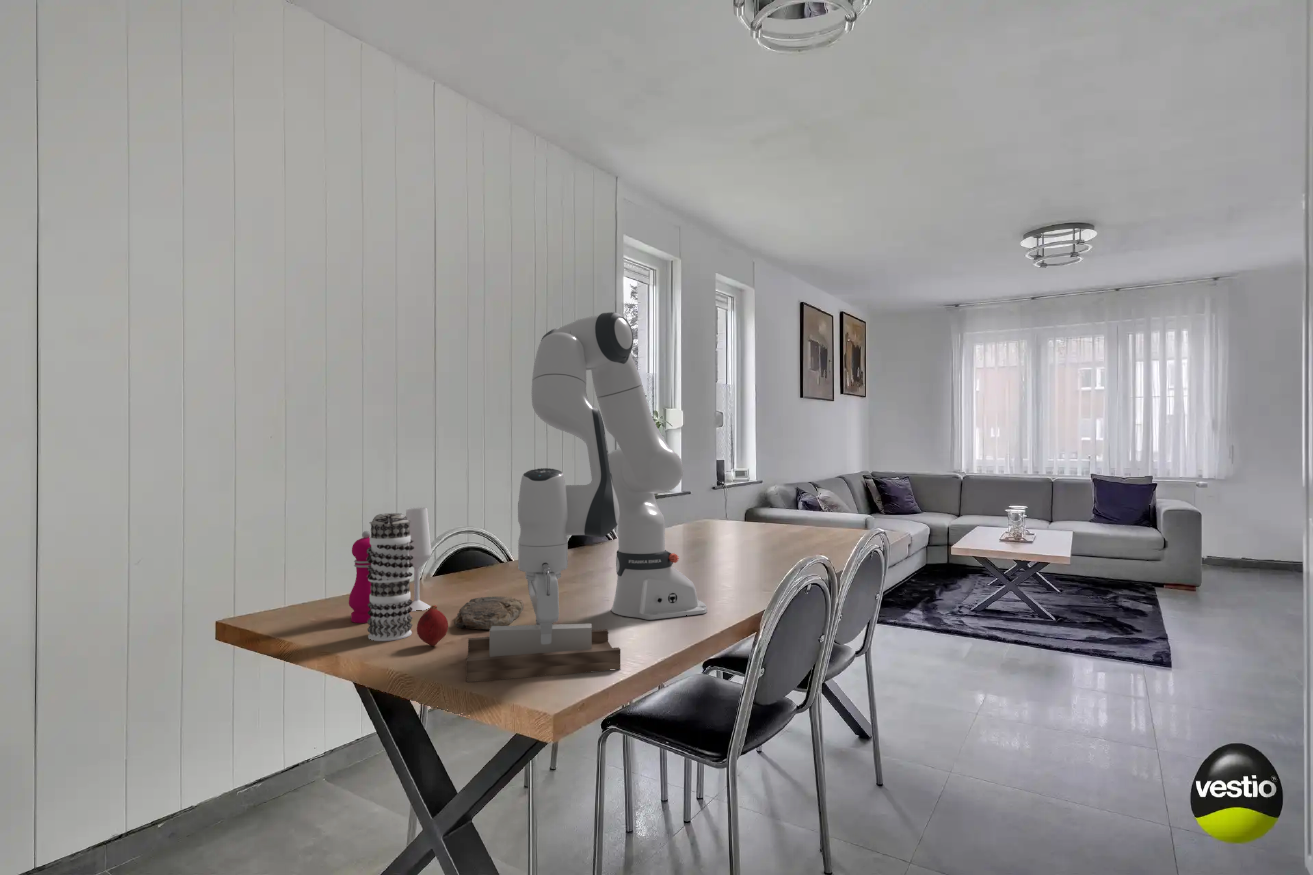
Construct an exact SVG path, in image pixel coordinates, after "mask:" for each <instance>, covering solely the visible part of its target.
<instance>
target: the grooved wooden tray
mask: <svg viewBox="0 0 1313 875" xmlns="http://www.w3.org/2000/svg"><path fill="white" fill-rule="evenodd" d="M467 641H468V642H467V644H468V651H467V652H468V653H467V658H466V683H472V682H473V683H474V682H484V681H495V680H496V681H497V680H511V679H520V678H521V679H522V678H523V679H524V678H534V677H547V676H560V675H573V674H584V673H585V672H586V673H592V672H591V671H598V672H605V671H604V670H610V669H620V670H621V648H620V647H619V646H618V647H612V645H611V644H610V642H609V630H608V628H603V629H602V628H601V629H600V628H599V629H592V649H590V650H576V651H563V652H549V653H535V654H521V655H507V656H494V657H490V636H482V637H469V638H468V640H467ZM586 673H585V674H586Z"/></svg>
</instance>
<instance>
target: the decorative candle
mask: <svg viewBox="0 0 1313 875" xmlns="http://www.w3.org/2000/svg"><path fill="white" fill-rule="evenodd" d="M410 522H411V521H410V520H408V519H407V517H406V514H403V513H399V512H398V513H396V512H395V513H393V512H391V513H379V514H377V515H375V516H374V517H373V519H372V520H371V521H370V522H369V524H370V534H371V536H370V537H369V538H370V544H371V547H370V548H368V549H367V551H366V552H367V553H368V555H369V556H368V557H367V558H366V560H367V561H368V562H369V563H371V565H369V566H368V568H367V570H368V571H369V575H367V578H368V581H370V582H371V594H370V603H369V604H368V607H369V608H371V609H370V610H369V611H368V614H369V615H370V616H371V617H370V619H369V620H368V621H367V623H366V624H368V627H367V631H368V633H369V634H368V636H367V638H368V640H370V639H371V640H370V641H373V640H374V642H392V641H397V640H398V641H399V640H402V639H406V638H408V637H410V636H411V635H412V634H413V632H412V627H413V624H412V623H411V622H412V621H413V616H412V615H411V614H410V613H411V612H413V611H412V608H411V607H410V606H409V605H411V603H412V601H413V599H411V590H410V585H411V584H410V583H411V582H410V580H411V579H412V578H413V573H412V572H410V569H411V568H413V567H412V566H413V564H412V563H411V562H409V561H410V560H411V559H413V556H411V555H409V551H410V550H413V549H414V547H413V546H412V545H409V543H412V542H413V540H411V535H410Z"/></svg>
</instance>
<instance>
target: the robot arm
mask: <svg viewBox="0 0 1313 875" xmlns="http://www.w3.org/2000/svg"><path fill="white" fill-rule="evenodd" d="M633 347H634V333H633V329H632V327H631V324H630V323H629V321H628V320H627V319H626V318H625V317H624V316H623V315H622V314H621V313H620V312H619V313H618V312H614V311H613V312H610V311H609V312H602V313H600V314H597V315H592V316H587V317H582V318H578V319H576V320H575V321H573V322H569V323H567V324H565V325H563V326H560V327H554V328H553V329H551V330H549V331H547V332H546V333H545V334H544V335H543V336H542V338H541V340H540V342H539V345H538V349H537V351H536V355H535V358H534V365H533V372H532V378H531V405H532V409H533V410H534V413H535V414H536V415H537V417H539V418H540V420H542V421H543V422H544V423H545V424H547V425H548V426H551V427H552V428H555V429H556V430H560V431H562V432H565V433H568V434H570V435H573V436H574V437H576V438H579V439H581V440H582V441H583V442H584V443H585V444H586V447H587V454H588V463H589V469H590V476H591V481H590V482H589V483H587V484H566V480H565V474H564V473H563V472H562V471H561V470H560V469H556V468H549V467H548V468H546V467H545V468H542V467H541V468H536V469H529V470H528V471H526V472H524V473H523V474H522V476H521V481H520V484H519V485H520V487H519V494H518V495H519V496H518V502H517V522H518V524H519V528H520V530H519V531H520V533H519V537H518V540H517V541H518V542H517V543H518V544H517V546H518V547H517V549H518V551H517V552H518V553H517V554H518V557H517V562H518V565H517V566H518V567H517V569H518V570H519V571H520V572H524V573H525V578H524V579H526V580H527V589H528V595H529V598H530V602H531V605H532V608H533V611H534V612H533V613H534V614H535V625H540V641H541V644H550V643H551V633H552V626H553V625H554V623H557V622H559V618H560V604H559V603H560V602H559V601H560V598H559V596H560V595H559V582H558V580H559V579H560V578H561V577H562V576H561V575H562V574H561V573H562V572H561V571H565V570H567V569H568V567H569V564H568V562H569V560H568V556H569V554H568V553H569V552H568V550H569V549H568V546H569V545H568V536H586V537H595V538H597V537H598V538H604V537H605V536H607V535H608V534H610V533H611V532H612V531H613V530H614V529H615V528H616V527H617V526H618V527H617V533H618V534H617V539H618V548H617V549H618V550H617V551H616V556H615V572H616V575H617V579H616V587H615V595H614V600H613V603H612V607H611V612H612V613H614V614H615V615H619V616H622V617H628V618H629V617H630V618H637V619H641V620H642V619H643V620H646V621H647V620H648V621H649V620H650V621H653V620H660V619H669V618H677V617H685V616H686V615H687V616H693V615H702V614H706V613H707V612H708V606H707V605H706V603H705V602H703V601H702V600H699V599H698V593H697V589H696V586H695V584H694V582H693V581H692V580H691V579H689V578H688V577H687V576H686V575H685V574H684V573H682V572H681V571H680V570H678V569H677V568H676V567H674V566H673V564H676V563H678V562H679V559H680V556H678V554H677V553H675V552H674V553H672V552H670V551H668V550H666V521H665V516H664V514H663V513H662V511H661V510H660V507H659V505H658V503H657V499H656V496H655V495H656V494H661V493H665V492H668V491H669V492H670V491H672V490H673V489H675V488H677V487H678V485H679V484H680V483H681V481H682V478H683V475H684V464H683V462H682V459H681V458H680V456H679V455H678V453H677V452H675V451H674V449H672V448H671V447H670V446H669V445H668V443H667V441H666V440H665V439H664V437H663V435H662V434H661V431H660V430H659V428H658V426H657V424H656V423H655V420H654V417H653V416H652V413H651V410H650V406H649V403H648V399H647V397H646V396H647V395H646V392H645V389H644V386H643V385H644V384H643V383H642V378H641V376H640V375H641V374H640V372H639V370H638V367H637V365H636V362H635V361H634V358H633V356H632V355H631V352H632V350H633ZM589 370H590V371H591V376H592V383H593V388H594V392H595V395H596V400H597V403H598V407H599V408H598V407H596V406H594V405H593V404H592V403H591V402H590V400H589V397H588V394H587V371H589ZM599 409H600V410H599ZM605 429H606V430H605ZM606 431H607V432H608V434H610V435H611V436H612V437H613V439H614V440H615V442H616V443H617V445H618V448H616V449H614V450H612V451H611V452H609V449H608V444H607V437H606ZM687 616H686V617H687Z"/></svg>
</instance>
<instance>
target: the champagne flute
mask: <svg viewBox="0 0 1313 875" xmlns="http://www.w3.org/2000/svg"><path fill="white" fill-rule="evenodd" d="M405 512H406V513H405V516H406V517H407V519H408V520H410V521H411V522H410V535H411V540H413V542H412V543H409V545H412V546H413V547H414V549H413V550H410V551H409V555H411V556H413V559H411V560H410V561H409V562H411V563H412V564H413V566H412V567H411V568H413V570H414V572H413V574H414V575H413V577H414V578H413V581H414V582H413V584H414V585H413V586H414V587H413V589H414V590H413V593H414V594H413V595H414V597H413V598H414V599H413V600H412V603H411V605H409V606H410V607H411V608H412V611H411V612H417V611H416V610H422V611H427V610H429V609H428V608H430V607H431V606H432V605H429V604H427V603H426V602H424V601H422V600H421V599H420V568H421V567H423V566H424V565H425V564H426V563H427V562H428V561H429V559H430V558H431V556H432V545H431V544H432V543H431V534H430V533H431V532H430V524H429V512H428V507H422V506H421V507H407V508H406V510H405ZM426 609H427V610H426Z"/></svg>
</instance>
